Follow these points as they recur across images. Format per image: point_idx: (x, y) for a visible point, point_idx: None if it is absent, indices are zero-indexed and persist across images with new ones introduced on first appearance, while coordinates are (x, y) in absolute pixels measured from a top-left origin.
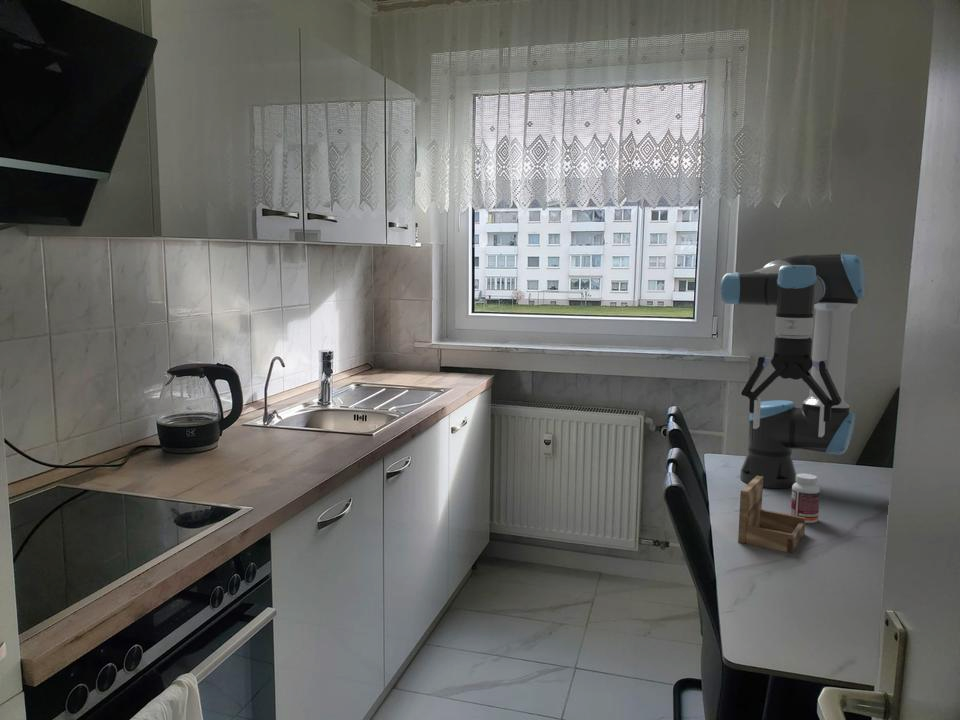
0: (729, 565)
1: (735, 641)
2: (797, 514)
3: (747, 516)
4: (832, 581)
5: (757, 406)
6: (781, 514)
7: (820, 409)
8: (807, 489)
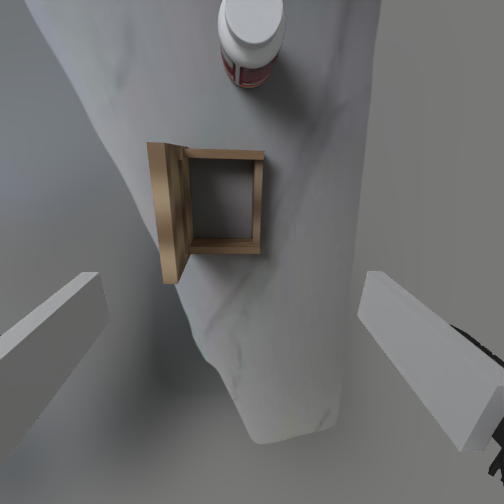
0: (202, 319)
1: (252, 430)
2: (239, 82)
3: (186, 254)
4: (310, 299)
5: (31, 426)
6: (222, 158)
7: (449, 434)
8: (260, 61)
